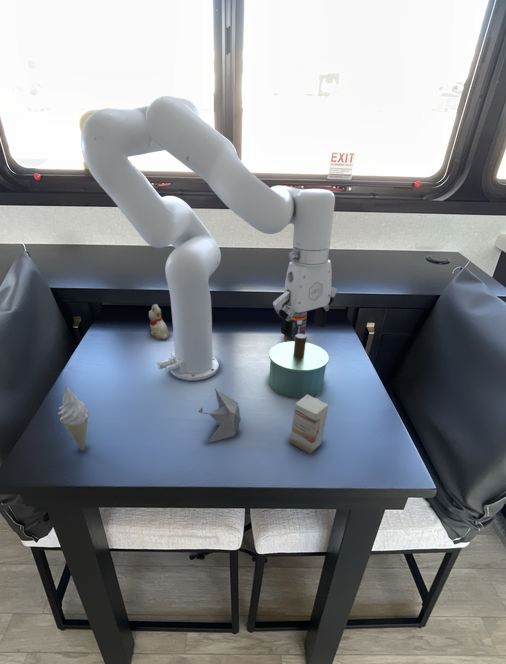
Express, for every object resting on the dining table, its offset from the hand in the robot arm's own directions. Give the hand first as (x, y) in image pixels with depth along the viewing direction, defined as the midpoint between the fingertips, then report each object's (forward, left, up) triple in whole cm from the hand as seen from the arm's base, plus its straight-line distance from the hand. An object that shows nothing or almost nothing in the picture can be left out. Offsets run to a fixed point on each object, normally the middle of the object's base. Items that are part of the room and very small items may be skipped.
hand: (303, 330), depth 95 cm
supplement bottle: (+14, +19, -15) cm, 28 cm away
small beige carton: (-13, -19, -15) cm, 27 cm away
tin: (0, 0, -15) cm, 15 cm away
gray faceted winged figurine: (-25, -5, -15) cm, 29 cm away
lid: (0, 0, -7) cm, 7 cm away
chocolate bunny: (-19, +42, -15) cm, 49 cm away
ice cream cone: (-52, +2, -15) cm, 54 cm away
